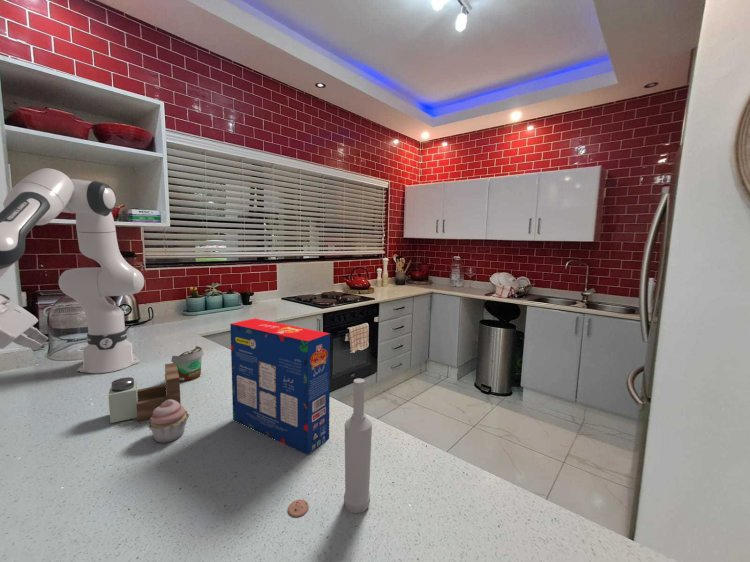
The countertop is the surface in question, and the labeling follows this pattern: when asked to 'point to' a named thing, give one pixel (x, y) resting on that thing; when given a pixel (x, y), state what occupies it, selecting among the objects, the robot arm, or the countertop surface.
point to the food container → (189, 364)
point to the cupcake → (168, 421)
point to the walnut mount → (158, 393)
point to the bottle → (357, 454)
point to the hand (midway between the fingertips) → (42, 344)
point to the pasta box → (281, 382)
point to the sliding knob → (123, 399)
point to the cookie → (298, 508)
